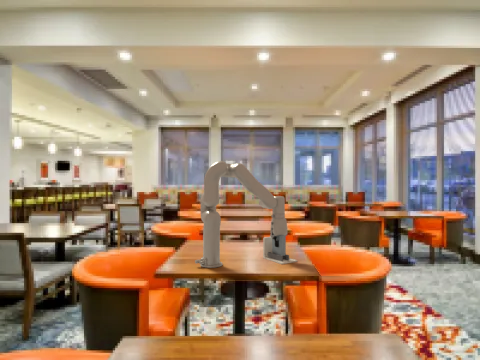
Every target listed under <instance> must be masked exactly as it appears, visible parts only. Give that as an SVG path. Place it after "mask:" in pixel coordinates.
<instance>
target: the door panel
mask: <svg viewBox="0 0 480 360" xmlns="http://www.w3.org/2000/svg"><path fill="white" fill-rule="evenodd" d="M273 236H274V235H273ZM286 237H287V236H286V235H280V236H278V241H279V247H275V240H274V239H273V238H272V253H275V254H278V255H281V256H285V255H287V253H286V252H287V251H286V250H287V249H286V244H287V242H286V241H287V240H286Z"/></svg>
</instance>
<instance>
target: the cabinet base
mask: <svg viewBox="0 0 480 360" xmlns="http://www.w3.org/2000/svg"><path fill="white" fill-rule="evenodd" d="M262 253H263V254H262V257H263V259H265V260H267V261H270V262H273V263H276V264H279V265H286V264H292V263H297V262H298V259H294V258H290V254H286V255H285V256H281V255H278V254H275V253H272V237H270V236H264V237H263V238H262Z"/></svg>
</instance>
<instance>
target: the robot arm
mask: <svg viewBox="0 0 480 360" xmlns="http://www.w3.org/2000/svg"><path fill="white" fill-rule="evenodd" d="M223 177H224V178H236V179H237V181H238V182H239V183H240V184H241V186H242V187H244V188H245V190H246V191H248V192H249V193H251V194H253V195H254V196H255V197H257V198H258V205H259V207H261V208H263V209H267V210H272V212H271V213H272V214H271V221H270V234H269V237H272V238H273V239H274V240H275V247H279V241H278V236H280V235H286V237H288V223H287V222H288V221H287V218H286V214H285V213H286V211H285V209H286V208H285V207H286V205H285V204H286V201H285V200H286V199H285V197H284V196H283V195H282V196H281V195H276V196H274V195H273V193H271V192H270V190H269V189H268V188H267V187H266V186H264V185H263V184H262V183H261V182H260V181H259V180H257V179H256V177H255V176H254V175H253V174H252V173H251V171H250V170H249V168H247V167H246V166H245V165H244V163H239V162H238V163H227V162H225V161H224V160H219V161H215V162H213V163H212V164H211V165H210V167H209V168H208V169H207V171H206V173H205V174H204V179H203V193H201V195H200V201H199V202H200V218H201V221H202V223H203V228H202V230H203V231H202V232H203V233H202V234H203V235H202V245H203V246H202V257H201V258H200V259H195V260H194V263H195V264H199V265H200V267H201V268H208V269H211V268H212V269H213V268H220V267H222V266H223V262H222V261H220V260H221V222H222V220H221V219H222V218H221V214H220V213H219V211H217V206H218V205H219V202H220V192H219V191H220V189H219V188H220V187H219V186H220V180H221V178H223ZM273 235H274V236H273Z"/></svg>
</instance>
